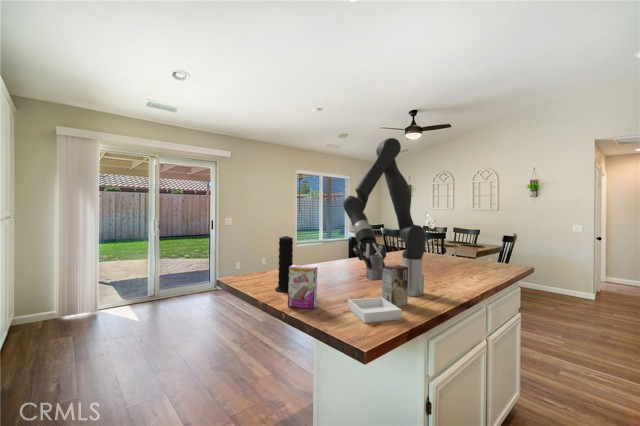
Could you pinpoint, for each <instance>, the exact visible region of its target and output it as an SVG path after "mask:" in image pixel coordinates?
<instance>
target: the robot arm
mask: <svg viewBox="0 0 640 426" xmlns="http://www.w3.org/2000/svg"><path fill="white" fill-rule="evenodd" d="M401 150H402V145H401V143H400V141H399V140H398V139H396V138H394V137H391V138H387V139H384V140H383V141H381V142H379V144H378V145H377V147H376V156H377V158H376V160H375V161H374V163H373V164H372V165H371V166H370V168H369V169H368V170H367V171H366V172H365V174H363V176H362V178H361V179H360V181H359V183H358V184H357V186H355V193H356V196H355V195H348V196H346V197H345V198H344V199H343V209H344V211H345V213H346V214H347V216H348V219H349V220H350V222H351V225H352V228H353V233H354V236H355V239H356V242H357V244H355V245H354V247H353V248H352V250H353V252H354V254H355V255H356V258H357V259H358V261H363V262H364V263H365V266H366V268H368V269H369V270H371V268H372V264H371V261H370V259H369V255H380V256H383V268H384V266H386V264H385V261H384V260H385V259H386V257H387V250H386V249H387V248H386V244H382V245H379V243H378V242H377V239H376V236H375V233H374V231H373V228H372V226H371V224H370V223H369V220H368V218H367V216H366V213H364V212H365V209H366V206H367V203H368V200H369V198H370V195H371V193H372V191H373V190H374V189H375V187H376V185H377V183H378V182H379V180H380V179H381V177H382V176H383V174H384V178H385V182H386V186H387V189H388V192H389V196H390V199H391V202H392V205H393V206H392V207H393V209H394V212H395V216H396V219H397V225H398V226H397V227H398V231H399V236H400V238H401V240H402V241H404V242H405V243H406V249H405V250H403V251H402V253H401V254H402V256H401V257H402V261H401V266H405V267H408V296H409V297H420V296H422V295H424V291H425V290H424V288H425V287H424V285H425V283H424V282H425V274H423V256H424V254H425V249H426V232H425V228H423V227H422V226H421V225H418V224H414V220H413V218H412V214H411V208H412V207H411V206H412V196H411V195H412V194H411V190H410V187H409V184H408V182H407V180H406V178H405V176H403V174H402V173H401V171H400V170H399V168H398V164H397V162H396V158H397V157H398V155H400V153H401Z"/></svg>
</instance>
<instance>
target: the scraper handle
mask: <svg viewBox="0 0 640 426" xmlns="http://www.w3.org/2000/svg"><path fill="white" fill-rule="evenodd" d="M369 259H370V261H371V264H372V268H371V270H369V269H368V268H367V267H366V274H365V278H366V279H367V280H370V281H374V282H376V281H382V272H383V261H384V260H383V256H380V255H372V254H369Z"/></svg>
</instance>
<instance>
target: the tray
mask: <svg viewBox="0 0 640 426" xmlns="http://www.w3.org/2000/svg"><path fill="white" fill-rule="evenodd" d="M347 302H348V303H347V304H348V305H347V309H348V310H350V312H351V313H352V314H354V315H355V316H356V317H357V318H358V319H359V320H360V321H361V322H363V324H369V323H377V322H378V323H379V322H389V321H396V320H403V319H402V312H403V309H401V308H399V306H395V305H393V304H392V303H390V302H389V301H387V300H385V299H384V298H382V296H378V297H367V298H354V299H348V301H347Z"/></svg>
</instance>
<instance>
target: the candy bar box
mask: <svg viewBox="0 0 640 426" xmlns="http://www.w3.org/2000/svg"><path fill="white" fill-rule="evenodd" d="M317 294H318V266H313V265H312V266H311V265H299V264H292V265H291V266H290V267H289V280H288V292H287V307H289V308H297V309H299V308H300V309H307V310H308V309H309V310H314V309H315V308H316V307H317V303H318V302H317V298H318V297H317V296H318V295H317Z"/></svg>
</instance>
